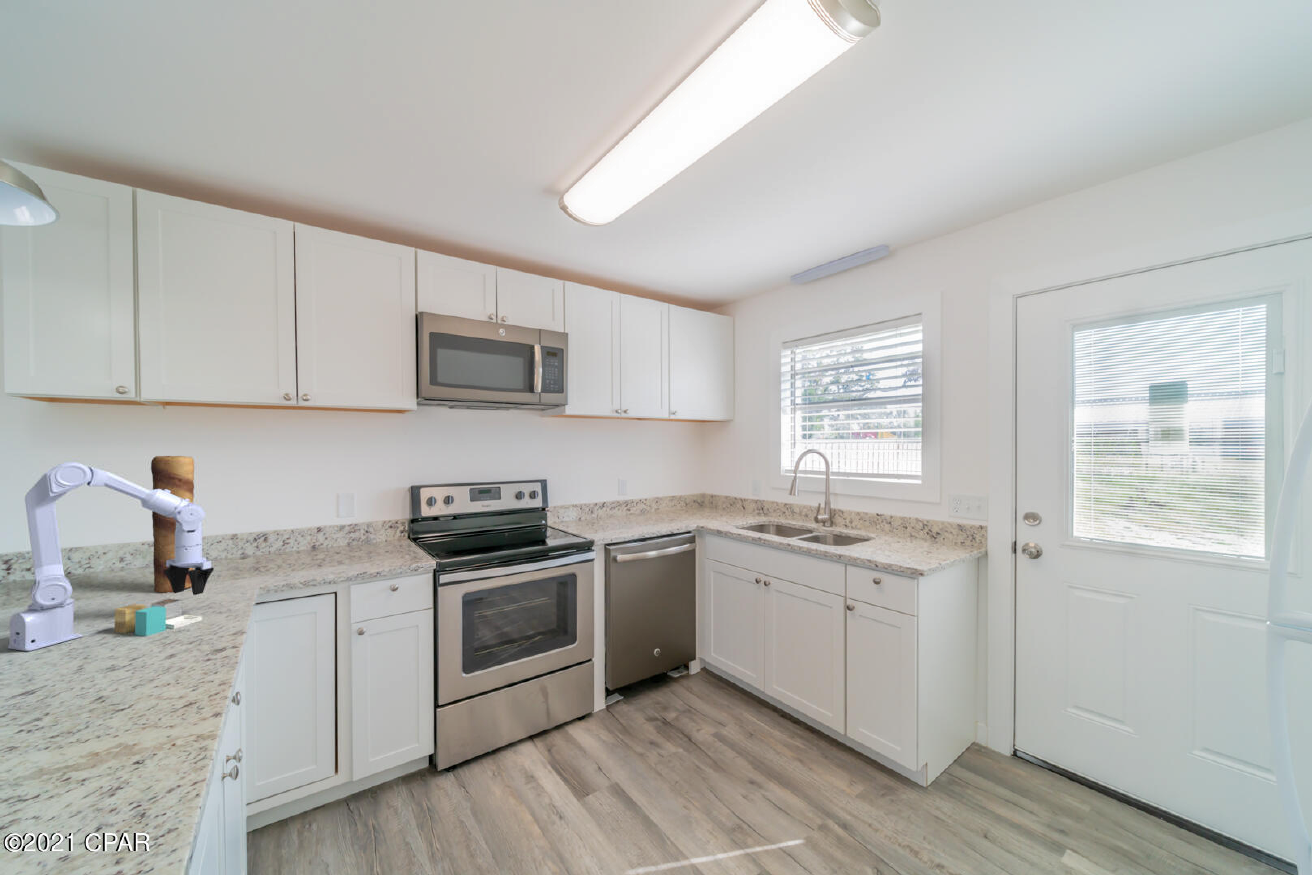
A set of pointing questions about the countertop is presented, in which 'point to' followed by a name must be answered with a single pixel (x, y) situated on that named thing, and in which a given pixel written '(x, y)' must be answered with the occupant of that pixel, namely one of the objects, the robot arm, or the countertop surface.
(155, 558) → the brown striped cylinder
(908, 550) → the countertop surface
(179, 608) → the block
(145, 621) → the teal block
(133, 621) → the ochre block
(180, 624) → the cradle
